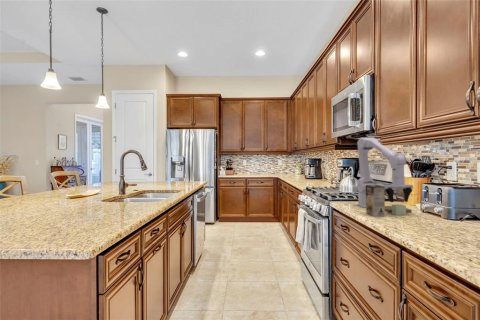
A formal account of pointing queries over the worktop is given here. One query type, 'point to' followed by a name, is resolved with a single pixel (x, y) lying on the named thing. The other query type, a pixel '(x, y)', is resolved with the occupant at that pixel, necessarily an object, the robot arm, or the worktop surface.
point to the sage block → (398, 209)
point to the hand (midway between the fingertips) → (398, 201)
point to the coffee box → (375, 200)
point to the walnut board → (389, 209)
